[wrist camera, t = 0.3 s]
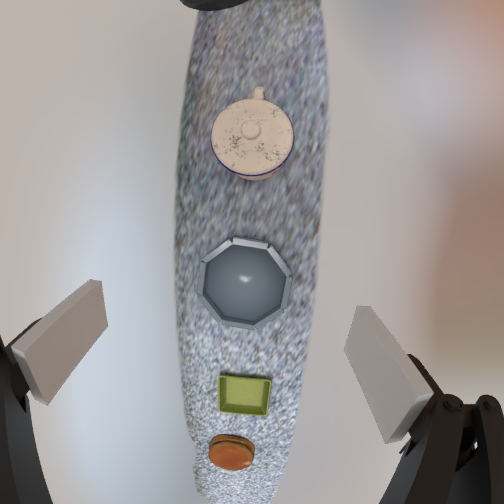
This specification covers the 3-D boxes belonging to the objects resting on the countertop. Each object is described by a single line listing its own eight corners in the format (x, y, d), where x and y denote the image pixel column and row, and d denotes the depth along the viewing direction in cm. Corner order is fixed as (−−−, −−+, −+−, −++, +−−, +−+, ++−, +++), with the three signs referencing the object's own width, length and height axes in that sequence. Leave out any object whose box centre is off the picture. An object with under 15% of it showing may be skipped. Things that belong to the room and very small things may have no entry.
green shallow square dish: (267, 409, 44) (267, 416, 42) (219, 405, 44) (218, 412, 42) (271, 373, 42) (271, 380, 40) (219, 368, 43) (217, 375, 41)
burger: (204, 433, 46) (200, 449, 41) (249, 431, 45) (248, 448, 40) (217, 459, 47) (214, 474, 43) (258, 458, 47) (257, 473, 42)
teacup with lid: (284, 186, 37) (292, 178, 25) (219, 179, 37) (198, 169, 26) (293, 106, 35) (302, 70, 23) (229, 100, 35) (215, 63, 23)
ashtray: (207, 231, 38) (203, 233, 36) (296, 245, 38) (298, 248, 36) (198, 313, 41) (194, 319, 38) (280, 327, 40) (280, 334, 38)
